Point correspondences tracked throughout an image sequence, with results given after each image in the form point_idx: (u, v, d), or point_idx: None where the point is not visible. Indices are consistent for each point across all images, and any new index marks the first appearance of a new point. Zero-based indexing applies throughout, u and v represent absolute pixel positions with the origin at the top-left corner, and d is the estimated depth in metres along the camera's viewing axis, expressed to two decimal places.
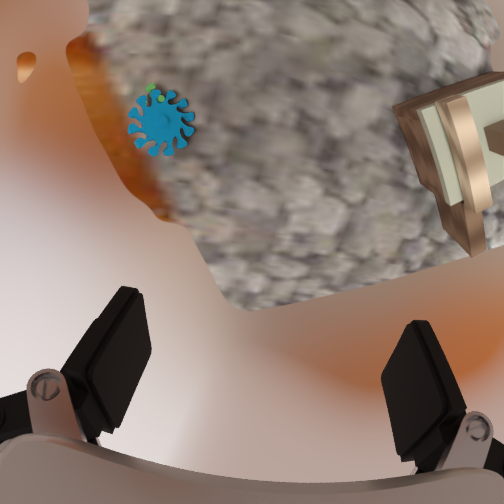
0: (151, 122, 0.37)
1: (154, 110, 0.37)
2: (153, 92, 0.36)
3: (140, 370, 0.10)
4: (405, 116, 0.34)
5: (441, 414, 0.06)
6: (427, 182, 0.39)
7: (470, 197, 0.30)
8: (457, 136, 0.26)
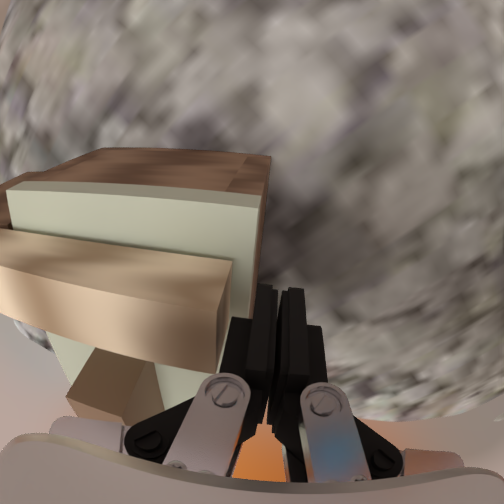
0: None
1: None
2: None
3: None
4: (244, 167, 0.17)
5: (282, 378, 0.07)
6: (90, 157, 0.18)
7: None
8: (100, 287, 0.09)
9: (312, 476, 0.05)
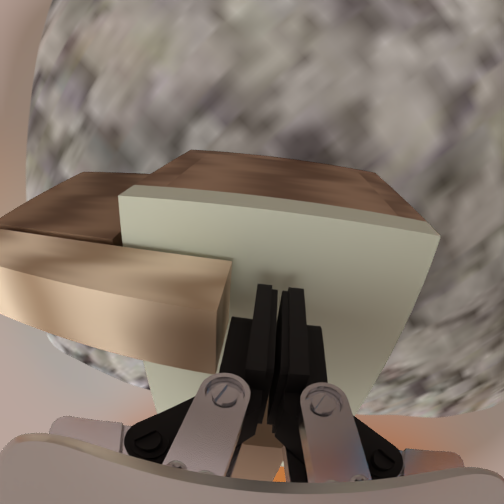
0: None
1: None
2: None
3: None
4: (373, 185, 0.16)
5: (282, 378, 0.07)
6: (194, 160, 0.17)
7: None
8: (100, 287, 0.09)
9: (312, 476, 0.05)
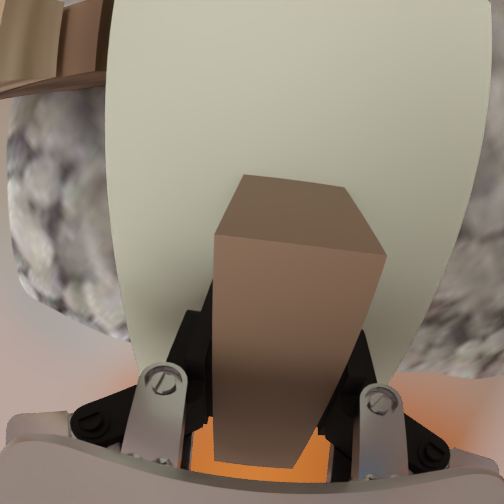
0: None
1: None
2: None
3: None
4: None
5: (339, 381, 0.07)
6: None
7: None
8: None
9: (356, 468, 0.05)
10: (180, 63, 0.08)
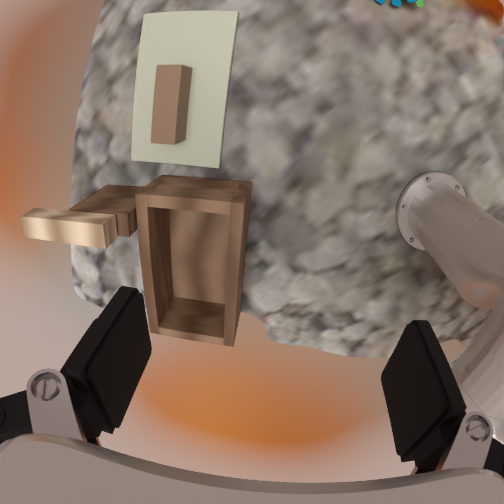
0: None
1: None
2: None
3: (140, 370, 0.10)
4: (238, 189, 0.38)
5: (441, 414, 0.06)
6: (161, 182, 0.39)
7: (34, 214, 0.32)
8: (75, 221, 0.31)
9: None
10: (157, 44, 0.32)
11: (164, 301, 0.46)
